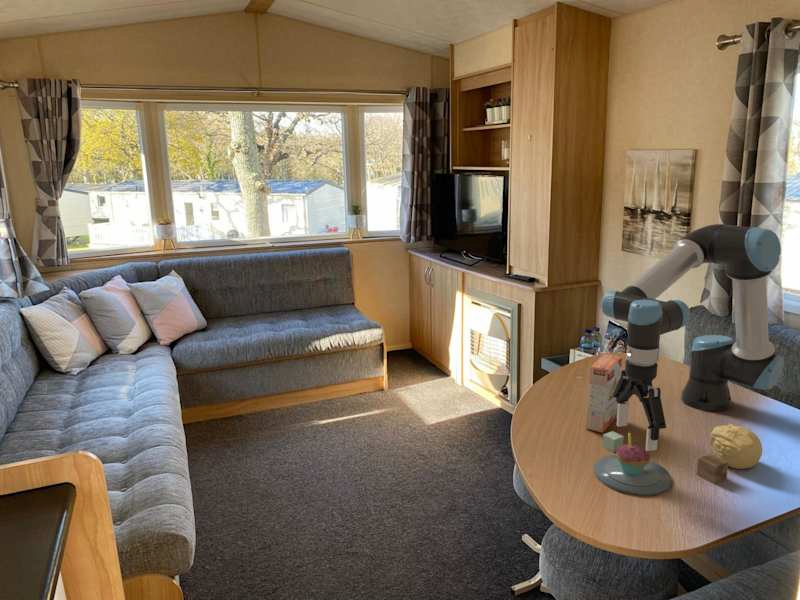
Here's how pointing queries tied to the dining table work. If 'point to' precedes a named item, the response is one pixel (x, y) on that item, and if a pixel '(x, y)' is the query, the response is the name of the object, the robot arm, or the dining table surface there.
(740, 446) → the sculpture
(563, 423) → the dining table surface
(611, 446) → the sage block
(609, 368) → the cracker box
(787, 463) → the dining table surface
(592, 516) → the dining table surface
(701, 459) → the walnut block
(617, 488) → the plate
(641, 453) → the cupcake
